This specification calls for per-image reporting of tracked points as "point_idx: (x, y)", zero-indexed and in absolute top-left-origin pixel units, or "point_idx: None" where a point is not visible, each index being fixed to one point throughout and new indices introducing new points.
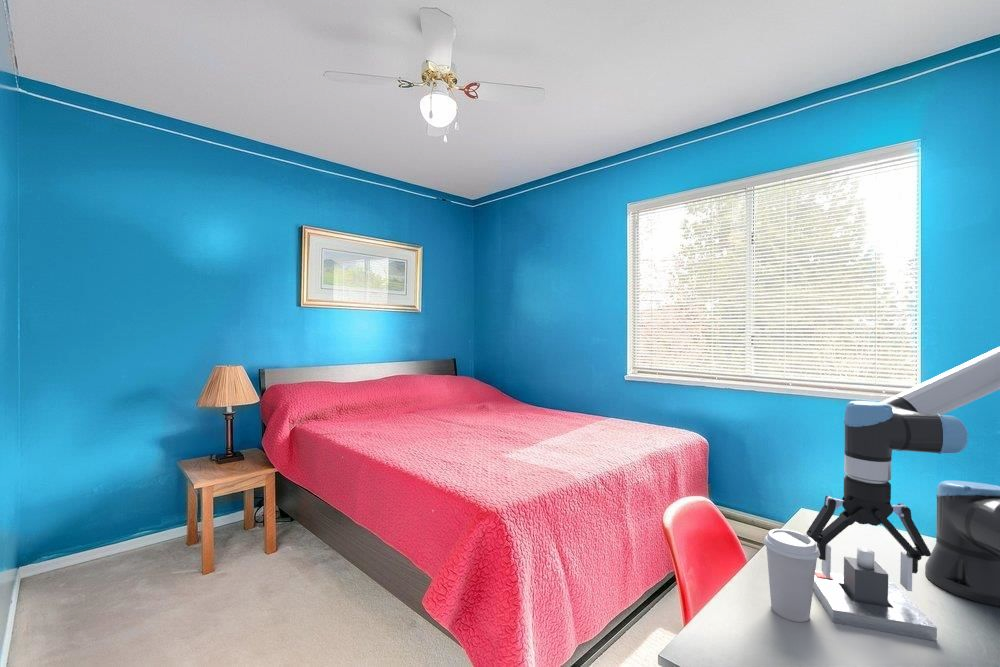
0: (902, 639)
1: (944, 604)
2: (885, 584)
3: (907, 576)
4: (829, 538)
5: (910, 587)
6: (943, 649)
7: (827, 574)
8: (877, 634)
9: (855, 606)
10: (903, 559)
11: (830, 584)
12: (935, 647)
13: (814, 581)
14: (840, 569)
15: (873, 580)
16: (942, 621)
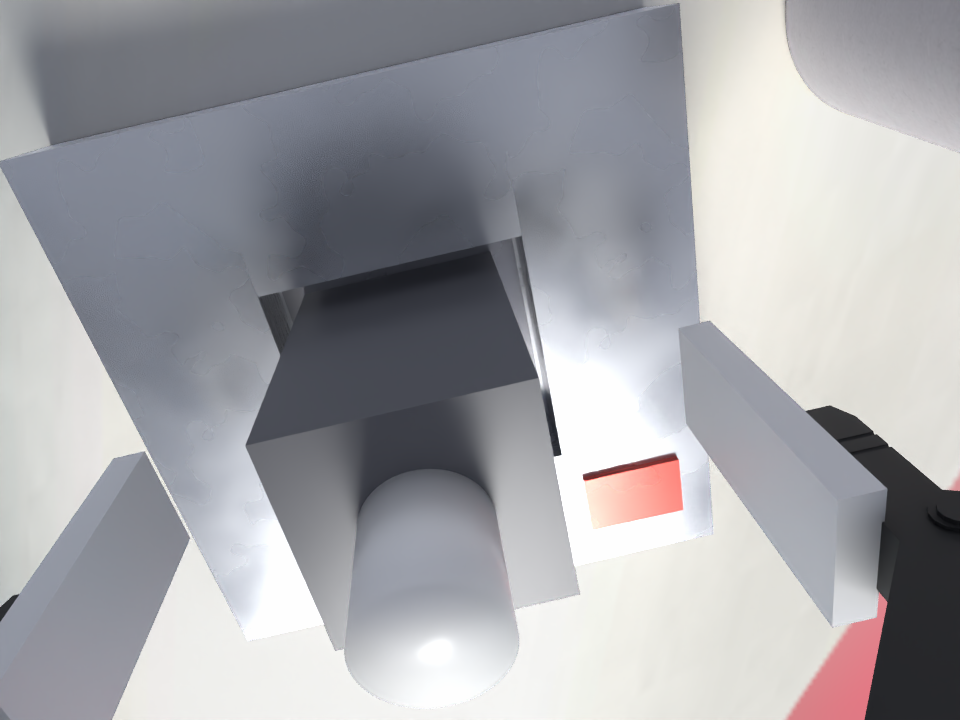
0: (241, 37)
1: None
2: (286, 385)
3: (94, 531)
4: (933, 591)
5: (110, 473)
6: (10, 54)
7: (713, 336)
8: (386, 8)
9: (507, 163)
10: (74, 701)
11: (613, 405)
12: (55, 51)
13: None
14: None
15: (376, 376)
16: (29, 426)
